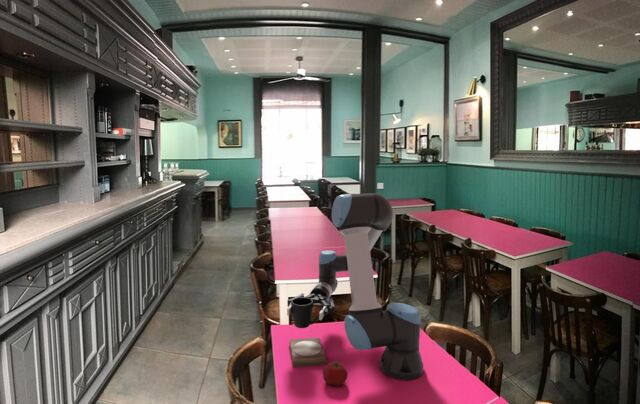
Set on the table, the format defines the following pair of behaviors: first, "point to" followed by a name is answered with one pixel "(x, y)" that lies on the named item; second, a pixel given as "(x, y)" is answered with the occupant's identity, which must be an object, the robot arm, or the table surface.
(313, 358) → the wooden coaster block
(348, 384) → the table surface
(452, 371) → the table surface
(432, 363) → the table surface
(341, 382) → the tomato
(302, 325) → the mug
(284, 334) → the table surface
